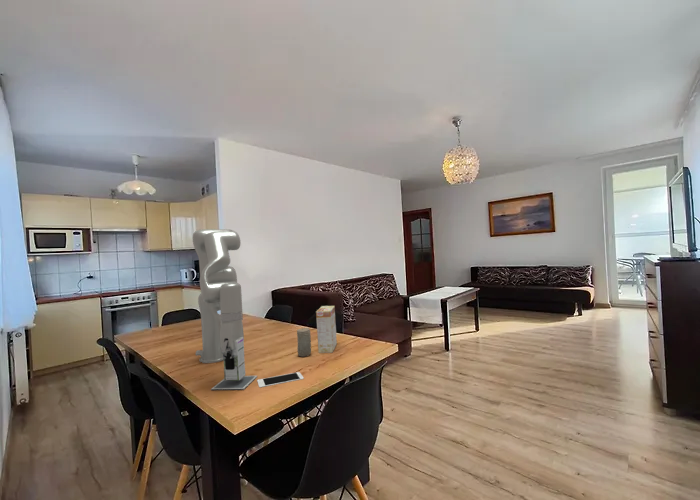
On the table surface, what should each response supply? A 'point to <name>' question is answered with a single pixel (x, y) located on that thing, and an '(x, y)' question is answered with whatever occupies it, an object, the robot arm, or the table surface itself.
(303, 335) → the carving
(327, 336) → the coffeecake box
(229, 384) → the mat
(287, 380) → the cell phone
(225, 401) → the table surface
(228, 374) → the syrup box
